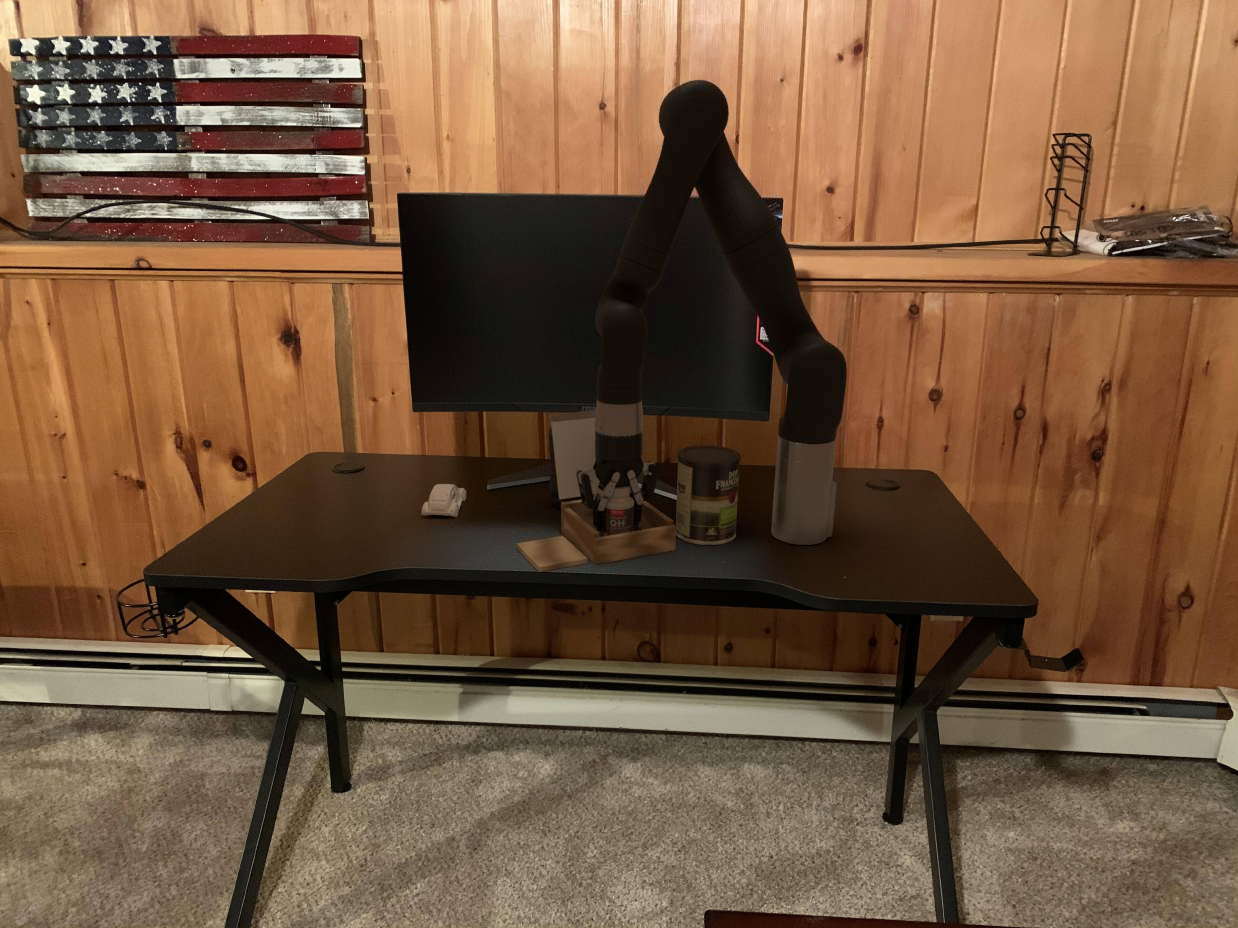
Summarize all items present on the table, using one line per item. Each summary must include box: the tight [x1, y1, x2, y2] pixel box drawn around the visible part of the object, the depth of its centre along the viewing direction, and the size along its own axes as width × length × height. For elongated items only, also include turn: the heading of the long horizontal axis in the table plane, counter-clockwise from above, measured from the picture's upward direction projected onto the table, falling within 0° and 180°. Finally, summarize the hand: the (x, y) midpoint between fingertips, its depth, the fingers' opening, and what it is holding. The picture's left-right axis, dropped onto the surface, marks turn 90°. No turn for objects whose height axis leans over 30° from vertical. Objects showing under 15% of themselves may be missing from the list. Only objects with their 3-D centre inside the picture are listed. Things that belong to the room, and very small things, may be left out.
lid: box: [549, 409, 599, 499], centre depth 155 cm, size 14×14×1 cm
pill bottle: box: [600, 486, 635, 537], centre depth 149 cm, size 5×5×10 cm
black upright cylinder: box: [548, 424, 581, 509], centre depth 165 cm, size 8×8×15 cm
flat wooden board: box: [515, 535, 589, 573], centre depth 145 cm, size 8×10×1 cm
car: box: [420, 483, 467, 518], centre depth 164 cm, size 12×6×5 cm, turn 176°
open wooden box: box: [560, 500, 677, 565], centre depth 150 cm, size 14×14×5 cm
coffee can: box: [675, 444, 742, 546], centre depth 152 cm, size 10×10×14 cm
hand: (617, 527), depth 150 cm, fingers closed on pill bottle, 5 cm apart
